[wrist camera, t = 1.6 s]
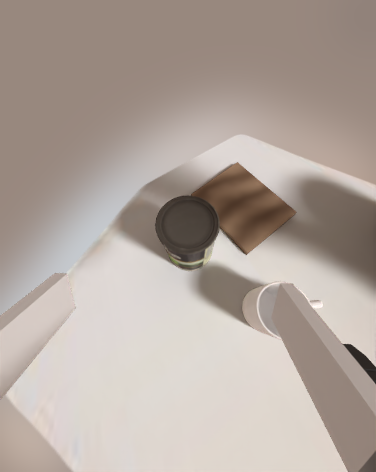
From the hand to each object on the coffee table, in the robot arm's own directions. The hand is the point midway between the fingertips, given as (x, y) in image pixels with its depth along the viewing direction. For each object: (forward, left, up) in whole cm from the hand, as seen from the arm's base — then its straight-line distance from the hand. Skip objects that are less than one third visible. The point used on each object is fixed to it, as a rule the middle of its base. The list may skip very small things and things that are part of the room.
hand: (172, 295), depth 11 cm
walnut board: (+10, -25, -28) cm, 39 cm away
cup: (-11, -13, -28) cm, 33 cm away
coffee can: (+9, -8, -28) cm, 31 cm away
